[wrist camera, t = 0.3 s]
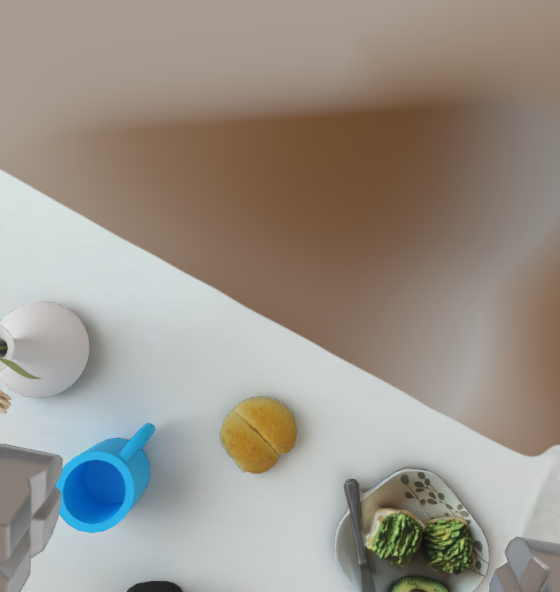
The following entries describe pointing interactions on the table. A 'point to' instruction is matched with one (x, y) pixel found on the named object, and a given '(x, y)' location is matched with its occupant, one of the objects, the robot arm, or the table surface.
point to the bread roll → (258, 433)
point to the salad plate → (409, 537)
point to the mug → (104, 482)
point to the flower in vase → (41, 350)
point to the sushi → (155, 587)
